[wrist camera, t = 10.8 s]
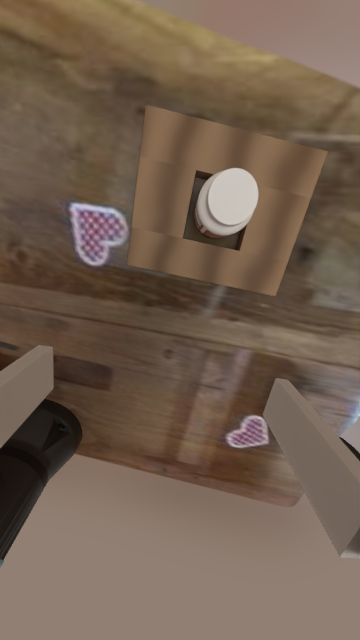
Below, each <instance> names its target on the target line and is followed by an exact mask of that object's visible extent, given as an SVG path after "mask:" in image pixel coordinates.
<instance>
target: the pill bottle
mask: <svg viewBox="0 0 360 640" xmlns="http://www.w3.org/2000/svg"><path fill="white" fill-rule="evenodd" d="M257 202H258V187H257V183H256V181H255V179H254V178H253V176H252V175H251V174H250V173H249V172H247V171H245V170H243V169H240V168H231V169H227V170H225V171H221V172H218V173H216V174H214V175H213V176H211V177H210V178H209V179H208V180H207V181H206V182H205V184H204V185H203V187H202V189H201V191H200V193H199V196H198V200H197V203H196V207H195V211H194V220H195V224H196V227H197V228H198V230H199V231H200V232H201V233H202V234H203V235H204V236H206V237H209V238H213V239H218V238H222V237H225V236H228V235H231V234H234V233H236V232H238V231H240V230H241V229H242V228H244V227H245V226H246V224H247V223H248V222H249V221H250V219H251V217H252V215H253V212H254V210H255V208H256V205H257Z"/></svg>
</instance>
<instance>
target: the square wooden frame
mask: <svg viewBox="0 0 360 640" xmlns="http://www.w3.org/2000/svg"><path fill="white" fill-rule="evenodd" d="M327 152H328V151H324V150H320V149H316V148H312V147H308V146H304V145H300V144H297V143H293V142H289V141H285V140H281V139H277V138H273V137H269V136H266V135H262V134H258V133H254V132H250V131H246V130H242V129H238V128H235V127H231V126H227V125H223V124H219V123H215V122H211V121H207V120H204V119H200V118H196V117H192V116H188V115H184V114H180V113H176V112H173V111H169V110H165V109H161V108H157V107H153V106H149V105H146V110H145V118H144V127H143V135H142V143H141V151H140V160H139V168H138V176H137V185H136V193H135V201H134V209H133V218H132V226H131V234H130V242H129V251H128V259H127V265H130V266H135V267H140V268H144V269H149V270H154V271H159V272H163V273H168V274H173V275H178V276H182V277H187V278H192V279H196V280H201V281H206V282H211V283H215V284H220V285H225V286H230V287H234V288H239V289H244V290H248V291H253V292H258V293H263V294H267V295H272V296H276V293H277V290H278V288H279V285H280V282H281V279H282V276H283V274H284V271H285V268H286V265H287V263H288V260H289V257H290V254H291V252H292V249H293V246H294V243H295V241H296V238H297V235H298V232H299V230H300V227H301V224H302V221H303V219H304V216H305V213H306V210H307V208H308V205H309V202H310V199H311V196H312V194H313V191H314V188H315V185H316V183H317V180H318V177H319V174H320V172H321V169H322V166H323V163H324V161H325V158H326V155H327ZM231 168H240V169H243V170H245V171H247V172H249V173H250V174H251V175H252V176H253V178H254V179H255V181H256V183H257V187H258V202H257V205H256V208H255V210H254V212H253V215H252V217H251V219H250V221H249V222H248V223H247V224H246V226H245V227H244V228H242V229H241V232H240V235H239V239H238V243H237V246H236V250H233V249H228V248H224V247H219V246H215V245H210V244H206V243H201V242H197V241H192V240H188V239H183V235H184V230H185V225H186V220H187V215H188V209H189V204H190V199H191V194H192V189H193V184H194V179H195V177H198V178H202V179H207V180H208V179H209V178H210V177H211V176H213V175H214V174H216V173H218V172H221V171H225V170H227V169H231Z"/></svg>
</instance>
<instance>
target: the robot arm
mask: <svg viewBox="0 0 360 640" xmlns="http://www.w3.org/2000/svg"><path fill="white" fill-rule="evenodd" d="M53 388H54V383H53V347H50V346H43V345H38V346H37V347H35V348H34V349H32V350H31V351H29V352H28V353H26V354H25V355H23V356H22V357H21V358H19V359H18V360H16V361H15V362H13V363H12V364H10V365H9V366H7V367H6V368H4V369H3V370H2V371H0V567H1V566H2V564H3V562H4V558H5V556H6V554H7V553H8V551H9V549H10V548H11V546H12V544H13V542H14V540H15V539H16V537H17V535H18V533H19V532H20V530H21V528H22V526H23V525H24V523H25V521H26V519H27V518H28V516H29V514H30V512H31V510H32V509H33V507H34V505H35V503H36V502H37V500H38V498H39V496H40V495H41V493H42V491H43V489H44V487H45V486H46V484H47V482H48V481H49V480H50V479H51V477H53V476H54V474H55V473H56V472H57V471H58V470H59V469H60V468H61V467H62V466H63V465H64V464H65V463H66V462H67V461H68V460H69V459H70V458H71V457H72V456H73V454H74V453H75V451H76V449H77V447H78V446H79V444H80V441H81V438H82V431H81V427H80V424H79V422H78V421H77V419H76V418H75V417H74V415H73V414H72V413H71V412H69V411H68V410H67V409H65V408H64V407H62V406H60V405H59V404H56V403H54V402H51V401H47V400H44V399H45V397H46V396H47V395H48V394H49V393H50V392H51V391H52V390H53ZM263 416H264V418H265V420H266V422H267V423H268V425H269V427H270V429H271V431H272V433H273V434H274V436H275V438H276V440H277V442H278V444H279V446H280V447H281V449H282V451H283V453H284V455H285V457H286V458H287V460H288V462H289V464H290V466H291V468H292V470H293V471H294V473H295V475H296V477H297V479H298V481H299V482H300V484H301V486H302V488H303V490H304V492H305V493H306V495H307V497H308V499H309V501H310V503H311V505H312V506H313V508H314V510H315V512H316V514H317V516H318V517H319V519H320V521H321V523H322V525H323V527H324V528H325V530H326V532H327V534H328V536H329V538H330V540H331V541H332V543H333V545H334V547H335V549H336V550H337V552H338V554H339V556H340V557H347V558H360V453H359V452H358V451H357V450H356V449H355V448H354V447H352V446H351V445H350V444H349V443H348V442H346V441H345V440H344V439H343V438H341V437H338V436H337V435H336V434H335V433H334V431H333V430H332V429H331V428H330V427H329V426H328V425H327V424H326V422H325V421H324V420H323V419H322V418H321V417H320V416H319V415H318V413H317V412H316V411H315V410H314V409H313V408H312V407H311V406H310V404H309V403H308V402H307V401H306V400H305V399H304V398H303V396H302V395H301V394H300V393H299V392H298V391H297V390H296V389H295V387H294V386H293V385H292V384H291V383H290V382H289V381H288V380H285V379H278V378H276V379H275V382H274V385H273V388H272V390H271V393H270V396H269V399H268V401H267V404H266V407H265V410H264V412H263Z"/></svg>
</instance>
